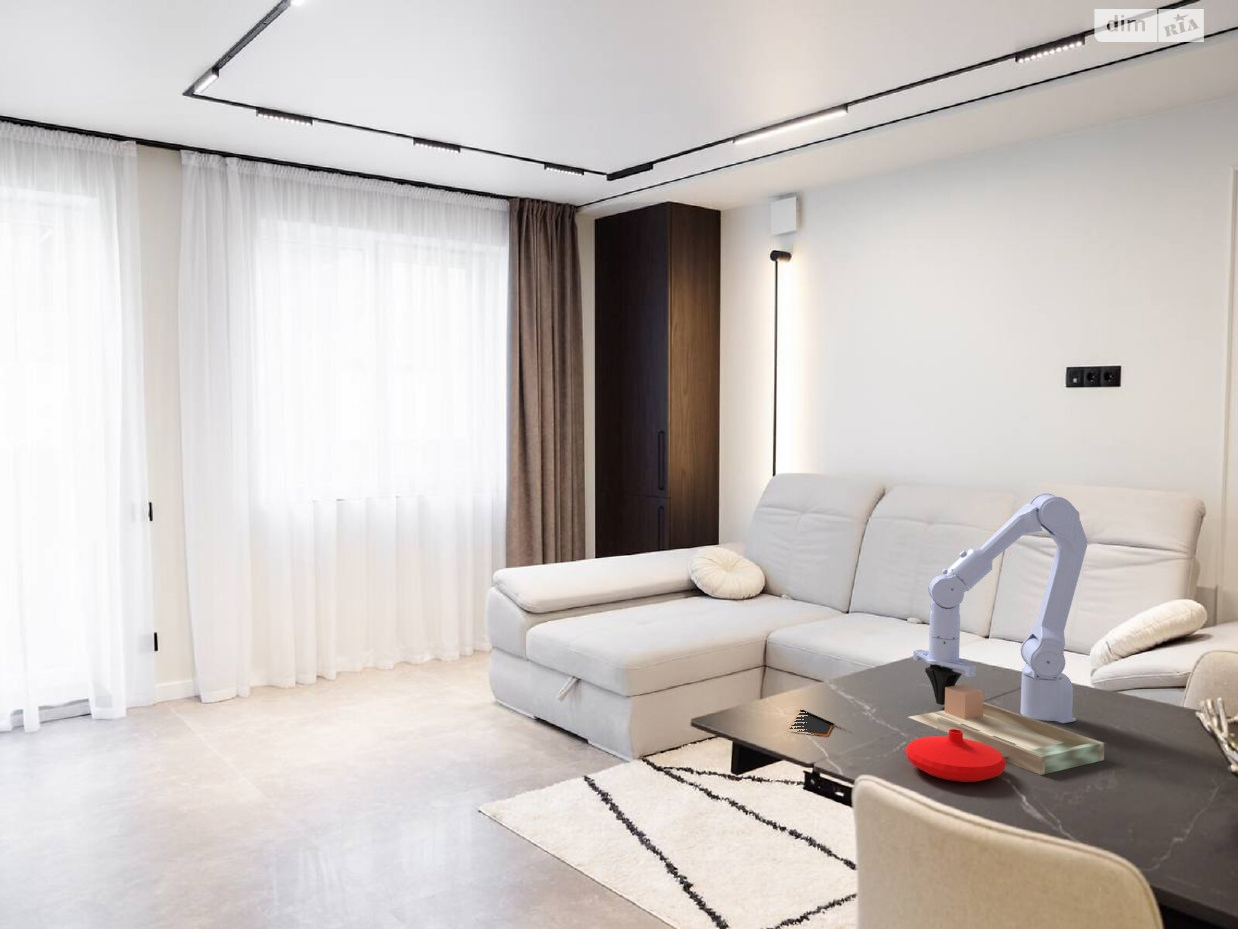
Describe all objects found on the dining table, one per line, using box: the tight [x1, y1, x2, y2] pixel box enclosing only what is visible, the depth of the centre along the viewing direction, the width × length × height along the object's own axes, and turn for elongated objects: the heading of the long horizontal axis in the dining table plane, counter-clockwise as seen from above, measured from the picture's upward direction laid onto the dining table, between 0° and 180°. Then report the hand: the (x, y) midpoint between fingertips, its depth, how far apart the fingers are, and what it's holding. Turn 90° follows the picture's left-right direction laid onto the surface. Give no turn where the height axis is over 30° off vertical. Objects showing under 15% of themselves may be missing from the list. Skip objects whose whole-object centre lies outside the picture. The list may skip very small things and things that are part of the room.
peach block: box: [944, 683, 985, 720], centre depth 183 cm, size 5×5×5 cm
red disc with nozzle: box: [904, 729, 1007, 783], centre depth 155 cm, size 16×16×7 cm
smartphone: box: [788, 709, 835, 738], centre depth 181 cm, size 8×17×1 cm, turn 159°
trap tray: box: [907, 701, 1105, 776], centre depth 172 cm, size 16×30×3 cm, turn 27°
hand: (942, 703), depth 188 cm, fingers closed
